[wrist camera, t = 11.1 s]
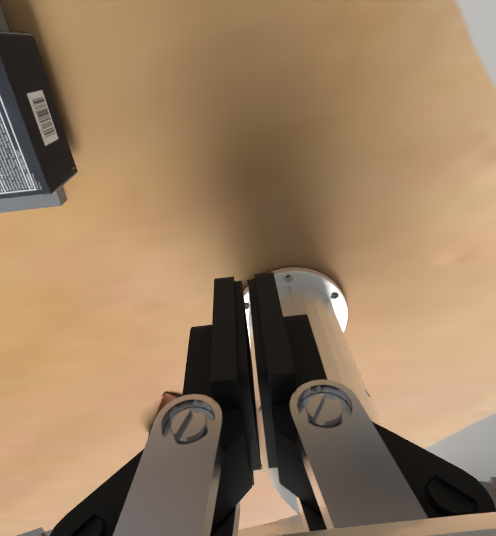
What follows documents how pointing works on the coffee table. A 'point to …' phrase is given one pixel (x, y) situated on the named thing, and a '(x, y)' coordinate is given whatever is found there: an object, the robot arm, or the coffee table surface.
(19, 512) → the coffee table surface
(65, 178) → the small box
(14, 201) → the rubber pad
